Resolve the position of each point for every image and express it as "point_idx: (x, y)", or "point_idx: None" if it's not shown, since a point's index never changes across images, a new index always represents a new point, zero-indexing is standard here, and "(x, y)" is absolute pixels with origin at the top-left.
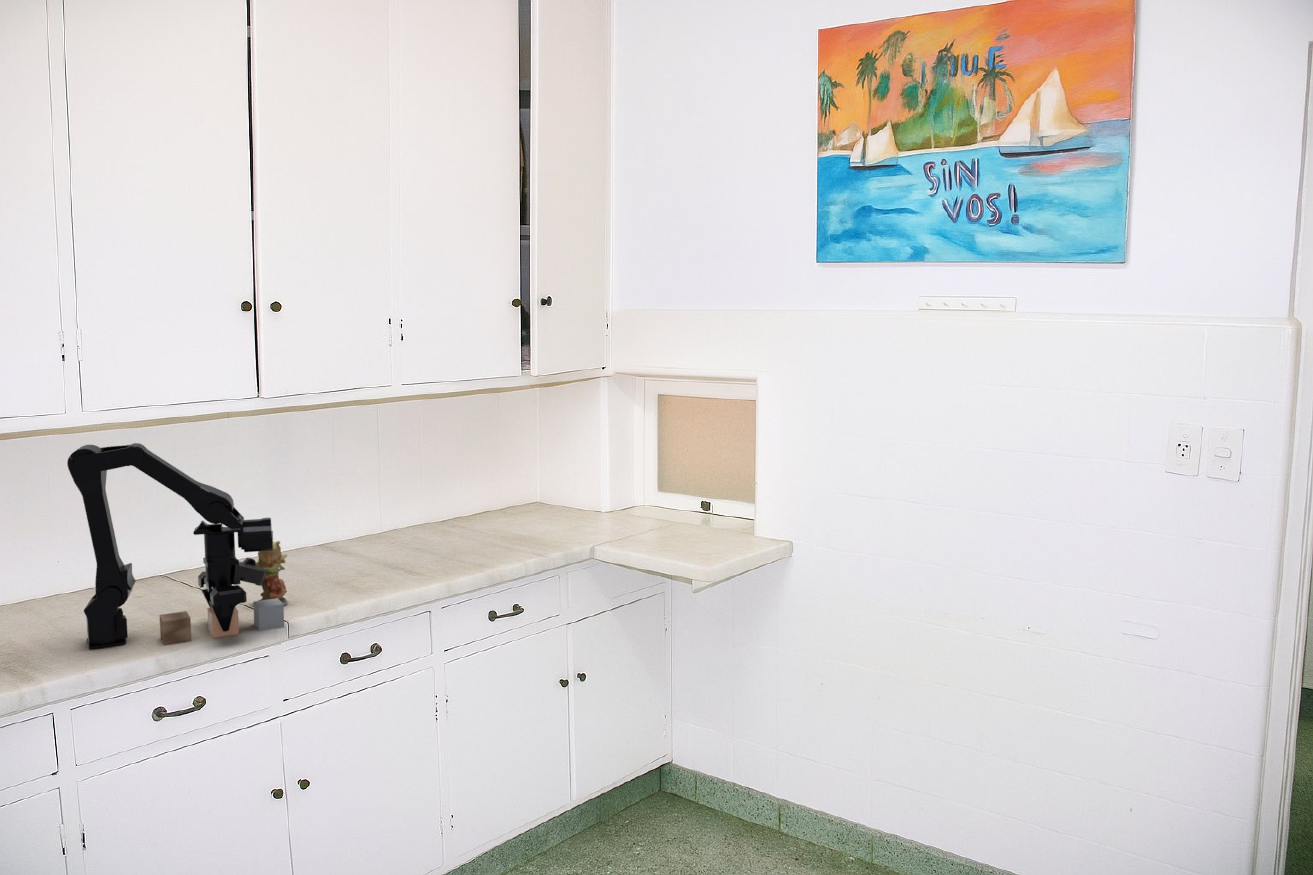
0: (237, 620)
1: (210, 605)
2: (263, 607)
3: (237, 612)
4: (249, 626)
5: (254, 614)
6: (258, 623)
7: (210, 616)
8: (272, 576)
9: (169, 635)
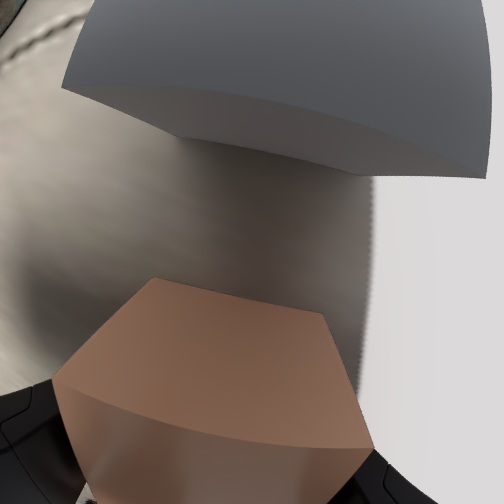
0: (345, 379)
1: (77, 497)
2: (484, 104)
3: (367, 435)
4: (210, 186)
5: (178, 124)
6: (355, 168)
7: None
8: None
9: None
